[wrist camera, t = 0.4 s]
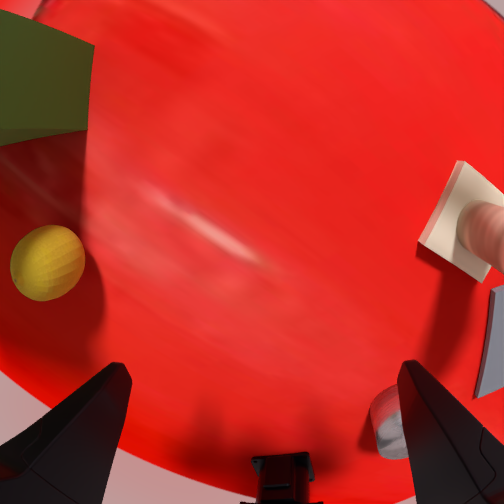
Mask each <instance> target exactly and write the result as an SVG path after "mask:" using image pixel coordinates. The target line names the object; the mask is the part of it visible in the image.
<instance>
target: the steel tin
mask: <svg viewBox="0 0 504 504" xmlns="http://www.w3.org/2000/svg"><path fill="white" fill-rule="evenodd" d="M369 413H370V417H371V421H372V425H373V430H374V434H375V438H376V442H377V447H378V451H379V453H380V455H381V456H383V457H384V458H387V459H402V458H407V457H409V456H408V451H407V446H406V441H405V437H404V432H403V427H402V420H401V411H400V403H399V395H398V387H397V384H395V385H393V386H391V387H389V388H387V389H385V390H384V391H382V392H381V393H380V394H379V395H378V396H377V397H376V398H375V399H374V400H373V402H372V403H371V406H370V410H369Z"/></svg>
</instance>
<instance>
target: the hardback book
mask: <svg viewBox="0 0 504 504" xmlns="http://www.w3.org/2000/svg"><path fill="white" fill-rule="evenodd" d="M94 47H95V46H94V45H92V44H90V43H87V42H85V41H83V40H81V39H78V38H76V37H74V36H71V35H69V34H67V33H64V32H62V31H59V30H57V29H54V28H52V27H49V26H47V25H44V24H42V23H39V22H36V21H34V20H31V19H28V18H25V17H23V16H19V15H17V14H14V13H11V12H8V11H5V10H1V9H0V146H4V145H8V144H13V143H17V142H22V141H26V140H31V139H36V138H41V137H47V136H52V135H58V134H64V133H70V132H77V131H83V130H88V108H89V93H90V81H91V71H92V63H93V54H94Z"/></svg>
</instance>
